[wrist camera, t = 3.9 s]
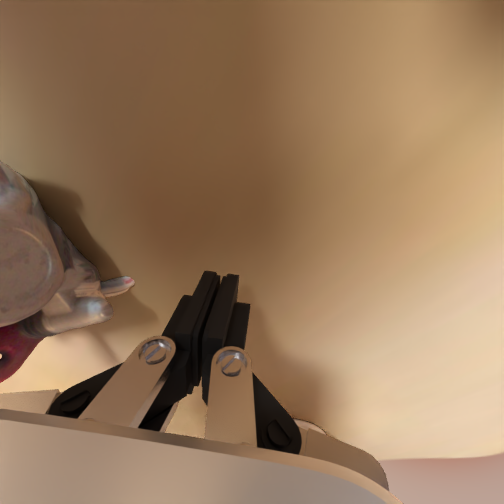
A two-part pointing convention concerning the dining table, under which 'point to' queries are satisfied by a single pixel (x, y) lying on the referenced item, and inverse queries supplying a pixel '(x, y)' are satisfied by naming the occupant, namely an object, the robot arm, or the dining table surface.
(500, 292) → the dining table surface
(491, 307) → the dining table surface
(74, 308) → the brake caliper
